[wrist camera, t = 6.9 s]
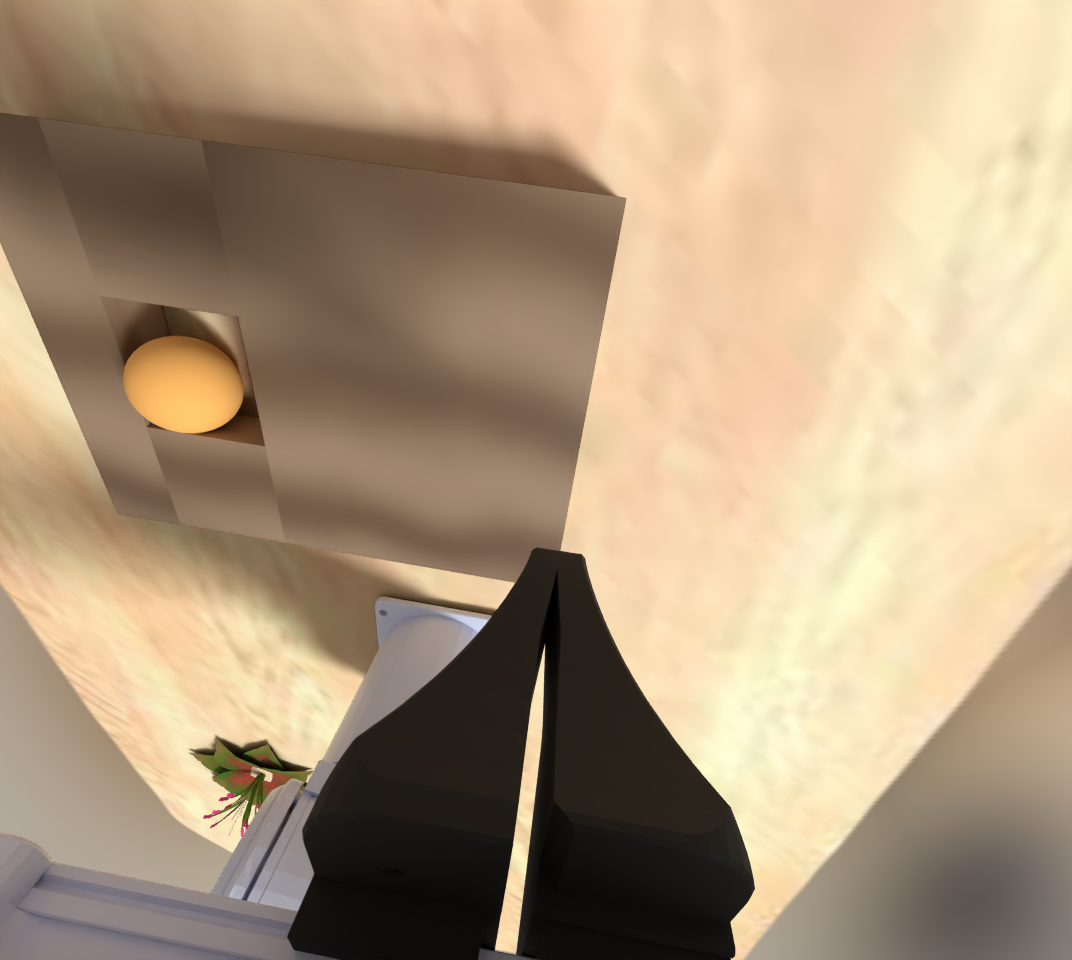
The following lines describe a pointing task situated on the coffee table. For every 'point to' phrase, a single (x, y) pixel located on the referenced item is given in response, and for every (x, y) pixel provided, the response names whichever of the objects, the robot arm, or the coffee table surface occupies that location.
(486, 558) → the plate
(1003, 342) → the coffee table surface
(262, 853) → the robot arm
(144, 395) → the ball
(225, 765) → the lily flower
